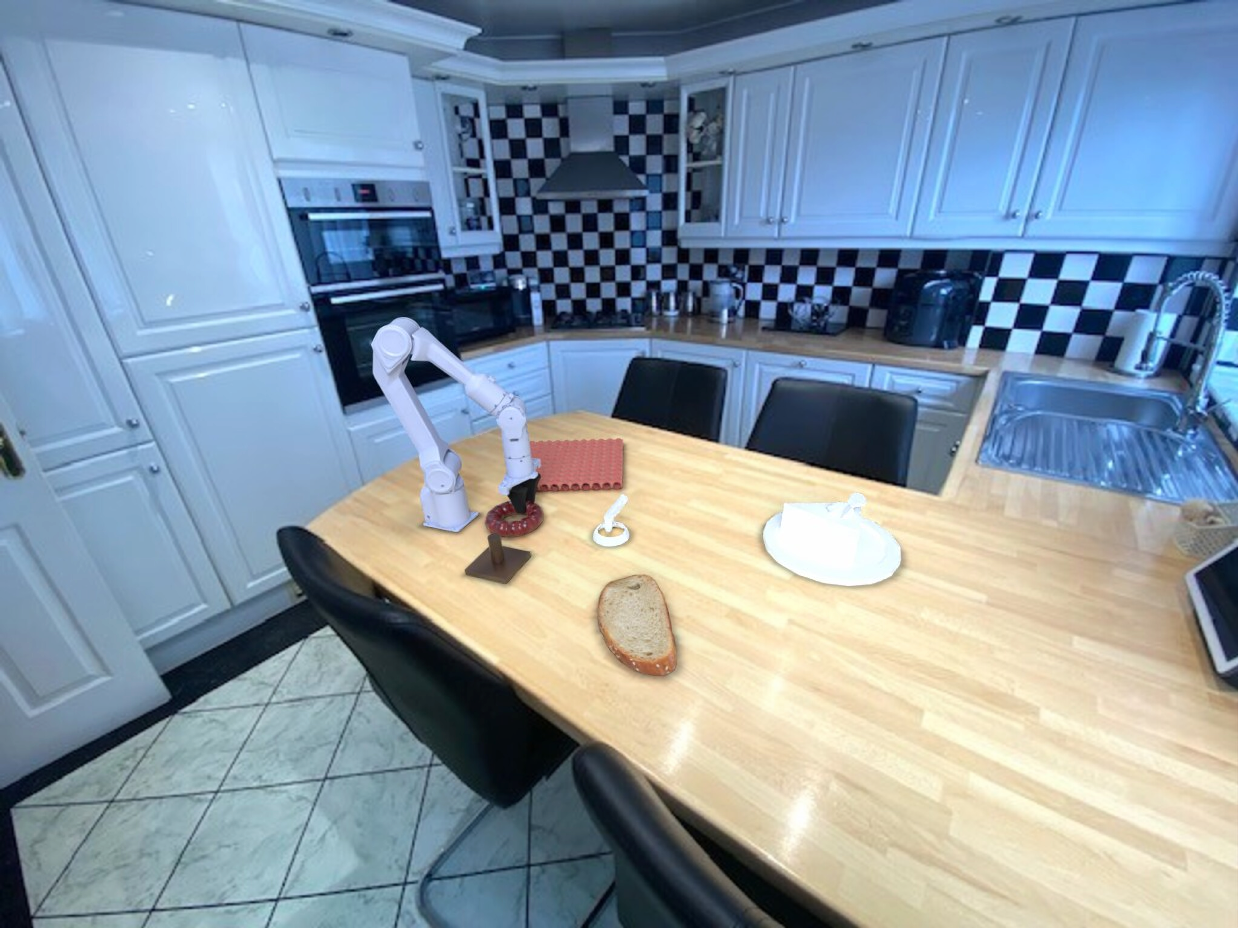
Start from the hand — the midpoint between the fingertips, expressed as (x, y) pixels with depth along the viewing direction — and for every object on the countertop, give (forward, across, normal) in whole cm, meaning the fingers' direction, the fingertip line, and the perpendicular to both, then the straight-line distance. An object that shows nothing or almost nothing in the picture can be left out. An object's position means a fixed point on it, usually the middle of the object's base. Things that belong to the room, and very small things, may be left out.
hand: (525, 508), depth 114 cm
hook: (+2, -3, -22) cm, 22 cm away
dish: (+2, +7, -64) cm, 64 cm away
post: (+1, -19, -5) cm, 19 cm away
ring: (0, -4, 0) cm, 5 cm away
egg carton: (+2, +25, +1) cm, 25 cm away
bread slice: (+2, -25, -36) cm, 44 cm away
